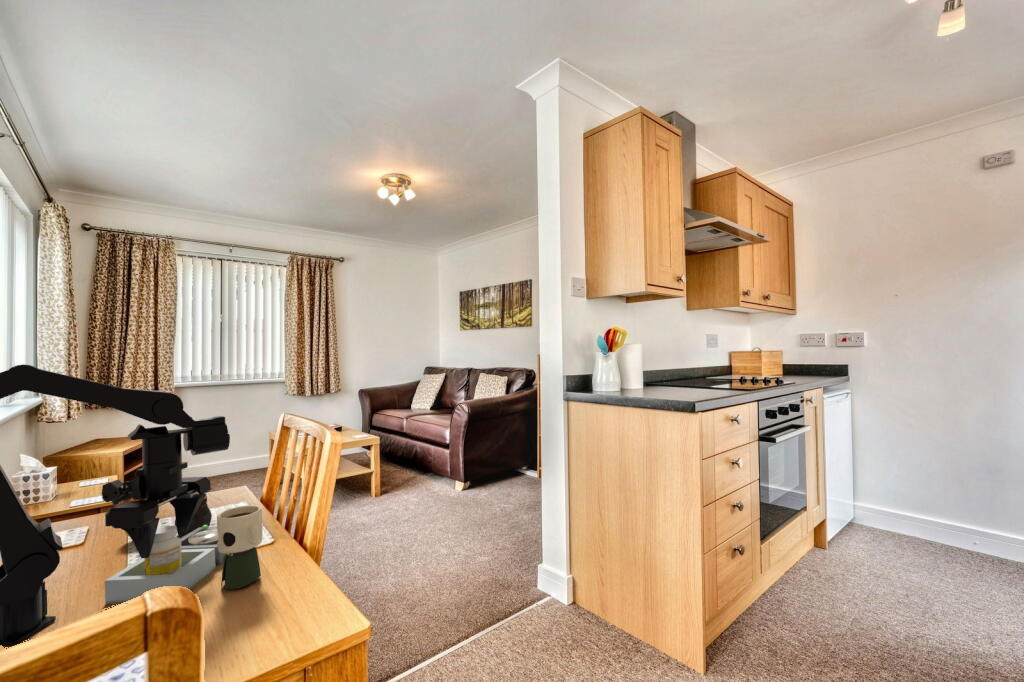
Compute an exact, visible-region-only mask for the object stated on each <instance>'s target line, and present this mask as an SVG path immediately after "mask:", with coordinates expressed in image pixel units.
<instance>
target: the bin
mask: <svg viewBox="0 0 1024 682" xmlns="http://www.w3.org/2000/svg"><path fill="white" fill-rule="evenodd" d="M181 559H182V567H181V568H180V569H179V570H177V571H176V572H174V573H173V574H169V575H146V576H145V558H141V559H138V560H137V561H136V562H134V563H131V564H130V565H129V566H126V567H125V568H124V569H121V570H119V571H118V572H117V573H116V574H113V575H112V576H110V577H108V578H106V579H105V580H104V604H105V605H120V603H123V602H126V601H128V600H131V599H133V598H136V597H138V596H141V595H142V594H143V593H144V592H146V591H149V590H151V589H155V588H158V587H163V586H182V587H186V588H188V589H189V590H191V589H192V588H193V587H195V586H196V585H197V584H198V583H199V582H201V581H202V580H203V579H204V578H206V577H208V575H210V574H211V573H212V572H213V571H215V570H216V565H215V548H210V549H186V550H181Z"/></svg>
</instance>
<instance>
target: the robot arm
mask: <svg viewBox="0 0 1024 682" xmlns="http://www.w3.org/2000/svg"><path fill="white" fill-rule="evenodd" d="M22 391H25V392H27V391H28V392H31V393H36V394H42V395H46V396H52V397H57V398H60V399H66V400H71V401H76V402H81V403H86V404H89V405H90V404H91V405H96V406H101V407H105V408H111V409H115V410H118V411H121V412H123V413H126V414H129V415H130V416H133V417H136V418H139V419H142V420H144V421H147V422H150V423H153V424H155V425H161V426H155V427H145V426H144V425H142V424H140V423H139V424H138V425H136V428H135V429H133V431H130V433H129V434H128V435H127V438H128V439H129V440H130V441H131V440H132V441H138V440H141V443H142V444H141V449H142V450H141V451H142V457H141V458H142V467H141V468H138V469H136V471H135V472H134V478H133V479H130V480H128V481H124V482H122V481H121V480H120V479H115V480H112V481H110V482H109V481H108V482H107V483H105V484H102V487H101V496H102V497H101V499H102V500H103V502H105V503H109V502H111V504H112V506H113V507H110V508H109V509H108V510H107V511H106V512H105V513H104V523H105V527H112V528H113V529H120V530H122V531H124V532H125V531H126V532H127V533H128V535H129V536H130V539H131V542H132V543H133V545H134V547H135V548H136V549H135V550H137V553H138V555H139V557H140V558H141V559H142V558H148V557H149V556H150V553H151V550H152V546H153V542H154V538H155V534H156V531H157V528H159V522H160V517H158V514H159V511H160V509H159V508H160V507H162V505H165V504H167V503H169V504H170V505H171V506H172V507H173V509H174V517H175V519H176V527H177V536H178V537H184V535H185V534H186V532H187V530H188V528H189V526H190V524H191V522H192V520H193V518H194V516H195V514H196V512H197V510H198V508H199V506H200V504H201V502H202V501H203V499H204V497H206V496H207V493H208V492H211V489H212V487H211V480H210V479H209V478H208V477H207V476H191V477H187V476H186V477H183V470H185V469H187V468H188V461H182V460H183V455H182V451H183V450H182V448H183V449H184V452H190V454H191V455H192V456H197V455H205V454H210V453H216V452H223V451H227V450H229V447H230V444H231V443H230V442H231V441H230V440H231V435H230V433H229V428H228V425H227V423H226V416H224V415H217V416H212V417H208V418H201V419H199V418H198V419H193V417H192V416H191V415H189V414H188V413H187V412H186V411H185V410H184V403H183V401H182V399H181V397H180V396H178V394H175V393H172V392H168V391H163V390H153V389H138V388H126V387H120V386H115V385H110V384H105V383H101V382H97V381H93V380H89V379H85V378H79V377H76V376H71V375H67V374H62V373H60V372H59V373H58V372H55V371H54V372H53V371H51V370H45V369H40V368H39V367H35V366H34V365H30V364H18V365H15V366H12V367H10V368H9V369H6V370H4V371H1V372H0V400H2V399H3V398H7V397H9V396H12V395H15V394H17V393H20V392H22ZM169 424H172V425H175V426H177V427H179V428H178V429H170V430H169V429H168V428H167V426H166V425H169ZM162 425H163V426H162ZM182 434H183V436H182ZM182 444H183V447H182ZM131 499H132V500H131ZM143 499H144V500H143ZM124 501H125V502H124ZM120 502H121V503H120ZM25 507H26V506H24V503H22V500H21V499H20V497H19V495H18V494H17V492H16V490H15V488H14V486H13V485H12V482H11V481H10V479H9V477H8V476H7V474H6V472H5V470H4V469H3V467H2V465H1V464H0V557H1V561H2V564H1V565H0V646H13V645H16V644H18V643H20V642H21V641H23V640H25V639H27V638H28V637H30V636H31V635H33V634H35V633H36V632H38V631H39V630H41V629H43V628H44V627H46V626H48V625H49V624H51V623H53V622H54V621H56V618H57V617H56V615H49V616H48V590H47V589H46V581H45V579H47V578H49V577H50V576H51V575H52V574H53V573H54V572H55V571H56V569H57V567H58V566H59V564H60V562H61V558H60V557H61V555H60V552H59V551H63V549H64V546H63V541H62V537H61V536H59V535H58V534H57V533H55V532H54V529H53V526H52V521H51V518H46V519H45V520H43V521H41V522H40V523H39V522H37V521H36V520H35V519H34V518H33V517H32V516H31V515H29V513H28V511H27V509H26V508H25ZM128 535H127V536H128ZM129 536H128V537H129Z"/></svg>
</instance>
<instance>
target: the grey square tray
mask: <svg viewBox="0 0 1024 682" xmlns="http://www.w3.org/2000/svg"><path fill="white" fill-rule="evenodd" d="M210 529H217V526H209V527H208V526H207V525H204V526H202V527H200V528H197V529H196V530H194V531H192V532H191V533H189V534H187V535H186V536H181V538H180V540H181V550H186V549H210V548H215V566H218V565H222V564H223V562H224V556H225V554H226V553H220V552H219V550H218V548H217V543H216V544H214V545H195V546H189V545H188V538H189V537H190V536H192V535H194V534H196V533H198V532H201V531H205V530H210Z"/></svg>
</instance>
